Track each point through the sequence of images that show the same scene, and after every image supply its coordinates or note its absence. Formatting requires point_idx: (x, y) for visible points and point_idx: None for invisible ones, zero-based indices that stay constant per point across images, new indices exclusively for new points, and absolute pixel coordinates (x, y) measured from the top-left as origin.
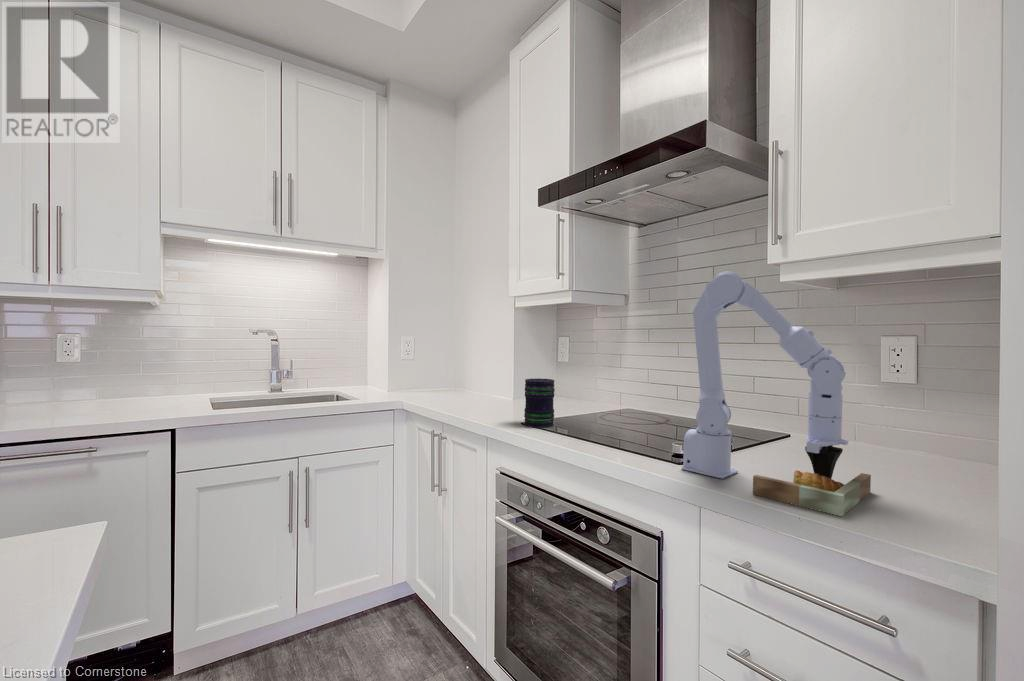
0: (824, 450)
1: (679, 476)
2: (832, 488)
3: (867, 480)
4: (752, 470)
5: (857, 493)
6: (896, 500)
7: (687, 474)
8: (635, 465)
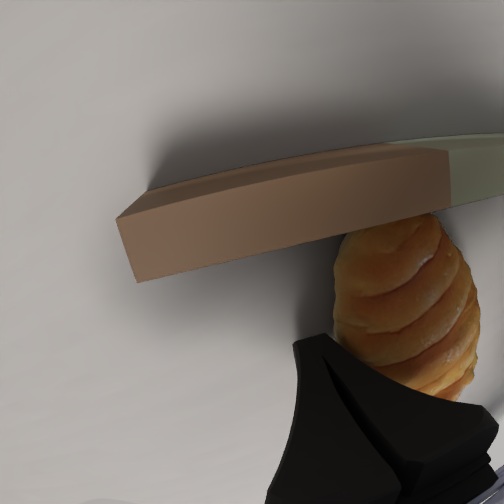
0: (488, 464)
1: None
2: (457, 251)
3: (227, 185)
4: None
5: (449, 142)
6: (164, 48)
7: None
8: None
